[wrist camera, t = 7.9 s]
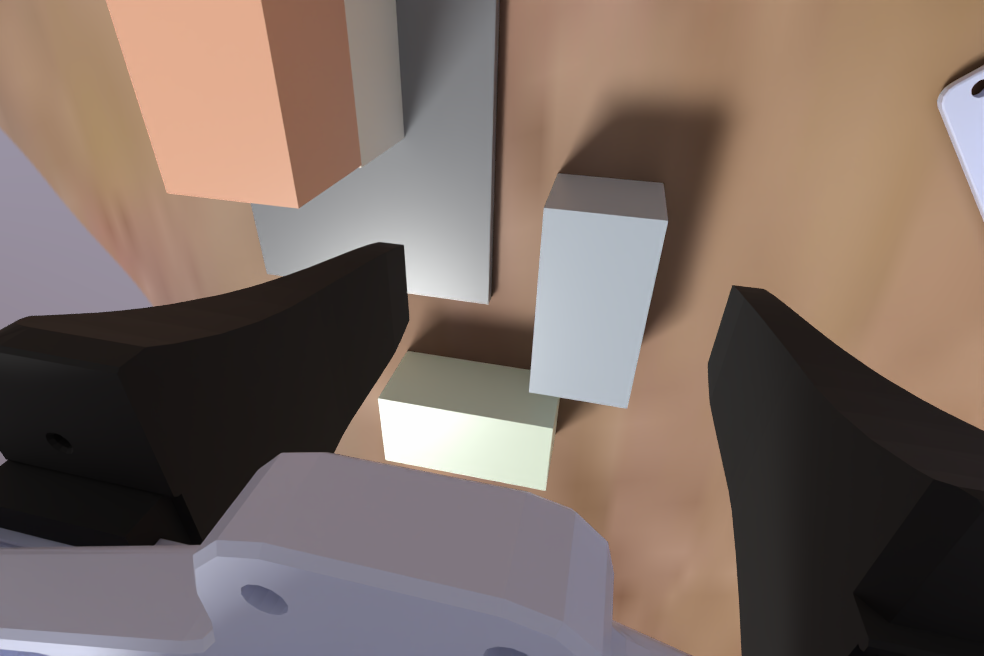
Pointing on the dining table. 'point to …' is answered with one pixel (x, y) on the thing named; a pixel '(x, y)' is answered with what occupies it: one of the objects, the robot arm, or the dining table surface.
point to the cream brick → (375, 74)
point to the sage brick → (468, 420)
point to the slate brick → (595, 286)
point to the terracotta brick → (243, 95)
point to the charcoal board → (417, 165)
